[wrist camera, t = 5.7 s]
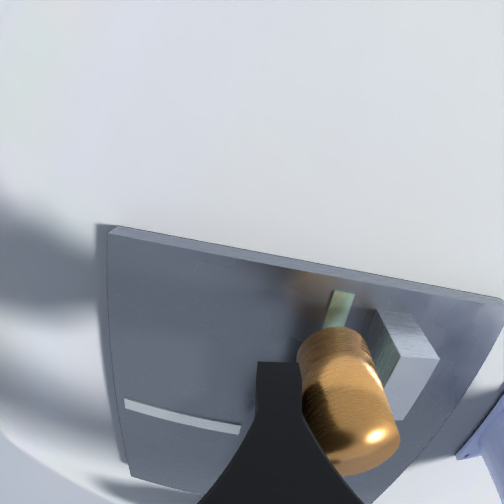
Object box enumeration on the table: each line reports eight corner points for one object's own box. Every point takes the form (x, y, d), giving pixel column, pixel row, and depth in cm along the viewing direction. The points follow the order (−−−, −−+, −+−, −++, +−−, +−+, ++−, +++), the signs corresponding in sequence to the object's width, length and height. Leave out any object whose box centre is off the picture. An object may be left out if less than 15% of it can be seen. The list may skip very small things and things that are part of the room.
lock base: (501, 298, 12) (545, 341, 8) (369, 493, 18) (376, 534, 15) (118, 225, 12) (64, 262, 8) (134, 466, 18) (119, 507, 15)
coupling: (323, 488, 13) (328, 550, 10) (233, 483, 13) (225, 547, 10) (408, 332, 10) (454, 417, 6) (266, 317, 10) (261, 417, 6)
